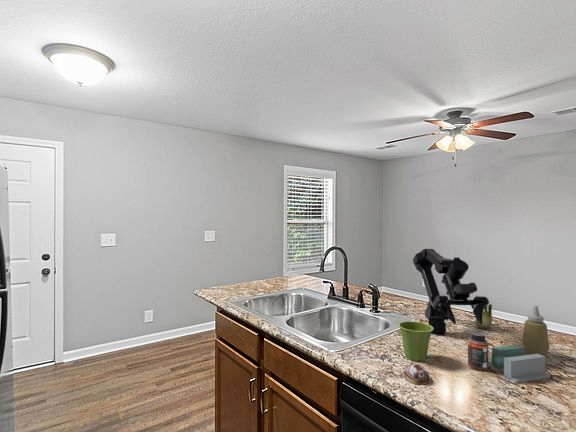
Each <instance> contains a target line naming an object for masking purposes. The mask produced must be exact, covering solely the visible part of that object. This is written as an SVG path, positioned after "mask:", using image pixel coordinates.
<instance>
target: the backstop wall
mask: <svg viewBox="0 0 576 432" xmlns="http://www.w3.org/2000/svg"><path fill="white" fill-rule="evenodd" d="M503 377H504V378H505V379H508V380H510V381H511V382H513V383H515V384H519V383H525V382H532V381H539V380H546V379H551V374H549V373H546V356H542V355H540V354H532V355H528V354H524V356H515V357H507V358H504V371H503Z"/></svg>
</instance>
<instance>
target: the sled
mask: <svg viewBox="0 0 576 432" xmlns="http://www.w3.org/2000/svg"><path fill="white" fill-rule="evenodd" d="M524 355H525V349H524V347H523V345H522V346H521V345H519V344H514V345H504V346H495V347H491V352H488V368H490V369H493V370H495V371H496V372H501V371H502V372H504V358H507V357H515V356H524Z"/></svg>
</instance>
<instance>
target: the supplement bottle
mask: <svg viewBox="0 0 576 432" xmlns="http://www.w3.org/2000/svg"><path fill="white" fill-rule="evenodd" d="M470 333H471V335H470V338H468V340H467V365H468V367H469V368H471V369H474V370H477V371H482V372H483V371H487V370H488V369H489V366H488V353H489V342H488V341H487V340H486V334H485V333H482V332H479V331H472V332H470Z"/></svg>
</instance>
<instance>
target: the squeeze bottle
mask: <svg viewBox="0 0 576 432" xmlns="http://www.w3.org/2000/svg"><path fill="white" fill-rule="evenodd" d="M538 306H539V305H538ZM538 306H537V305H533V306H532V310H531V313H530V314H527V320H525V321H524V324H523V331H522V340H521V344H522V347H524V353H525V355H532V354H540V355H542V356H545V357H546V356H547V354H548V352H549V350H550V341H549V333H548V325H547V324H546V322H544V317H543V316H542V315H541V314H540V310H539V307H538Z"/></svg>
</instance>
